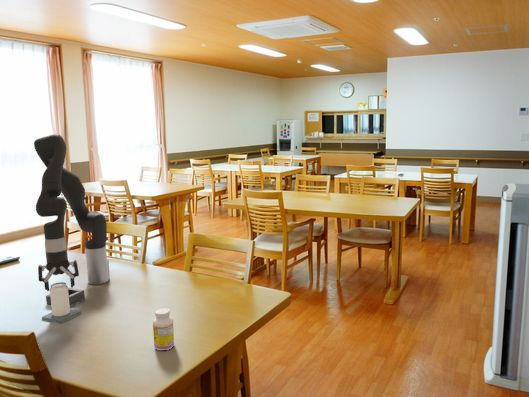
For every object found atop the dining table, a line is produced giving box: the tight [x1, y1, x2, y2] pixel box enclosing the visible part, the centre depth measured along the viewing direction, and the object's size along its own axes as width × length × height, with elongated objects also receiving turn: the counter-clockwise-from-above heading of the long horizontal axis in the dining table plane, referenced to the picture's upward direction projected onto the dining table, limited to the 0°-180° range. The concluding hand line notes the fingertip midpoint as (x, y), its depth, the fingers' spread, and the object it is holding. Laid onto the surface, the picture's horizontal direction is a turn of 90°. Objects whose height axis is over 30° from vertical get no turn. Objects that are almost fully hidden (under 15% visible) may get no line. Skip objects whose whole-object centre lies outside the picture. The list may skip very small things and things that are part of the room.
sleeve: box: [45, 287, 86, 307], centre depth 197 cm, size 11×11×4 cm
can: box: [49, 281, 71, 317], centre depth 182 cm, size 6×6×12 cm
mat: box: [41, 308, 82, 324], centre depth 183 cm, size 10×10×1 cm
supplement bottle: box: [152, 307, 175, 351], centre depth 155 cm, size 7×7×13 cm
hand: (60, 288), depth 181 cm, fingers open, 8 cm apart
